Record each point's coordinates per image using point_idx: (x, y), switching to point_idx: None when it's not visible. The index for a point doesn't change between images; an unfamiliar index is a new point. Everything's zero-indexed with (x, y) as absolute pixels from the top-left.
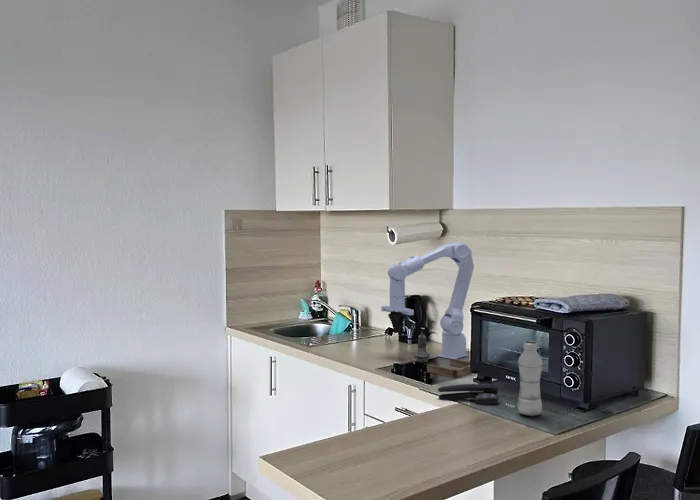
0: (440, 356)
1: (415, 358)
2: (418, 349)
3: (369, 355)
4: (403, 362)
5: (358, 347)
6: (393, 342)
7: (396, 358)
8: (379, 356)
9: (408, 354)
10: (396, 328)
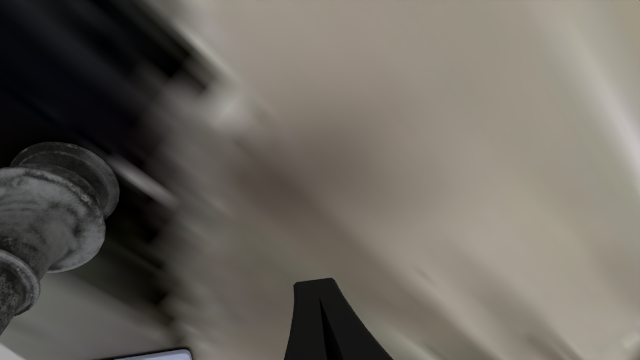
0: (163, 353)
1: (55, 168)
2: (7, 226)
3: (484, 110)
4: (192, 139)
5: (629, 194)
6: (525, 355)
7: (306, 178)
8: (418, 137)
9: None
10: (295, 315)
